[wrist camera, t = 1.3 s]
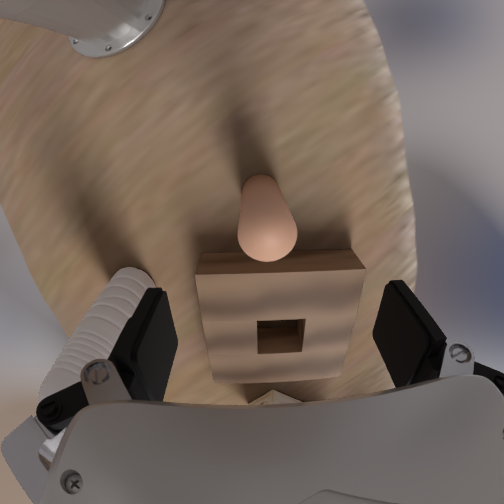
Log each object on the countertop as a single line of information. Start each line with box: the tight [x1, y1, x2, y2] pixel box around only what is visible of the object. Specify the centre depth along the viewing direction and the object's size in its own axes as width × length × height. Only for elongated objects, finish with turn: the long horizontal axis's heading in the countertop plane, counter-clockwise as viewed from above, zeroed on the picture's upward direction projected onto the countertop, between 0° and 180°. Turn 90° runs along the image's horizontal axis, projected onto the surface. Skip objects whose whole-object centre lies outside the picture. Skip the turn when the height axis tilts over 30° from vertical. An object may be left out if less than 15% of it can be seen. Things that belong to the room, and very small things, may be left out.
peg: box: [238, 174, 297, 262], centre depth 24 cm, size 4×4×12 cm
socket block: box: [195, 249, 366, 383], centre depth 34 cm, size 18×18×5 cm
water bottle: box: [39, 267, 156, 403], centre depth 23 cm, size 9×6×25 cm
